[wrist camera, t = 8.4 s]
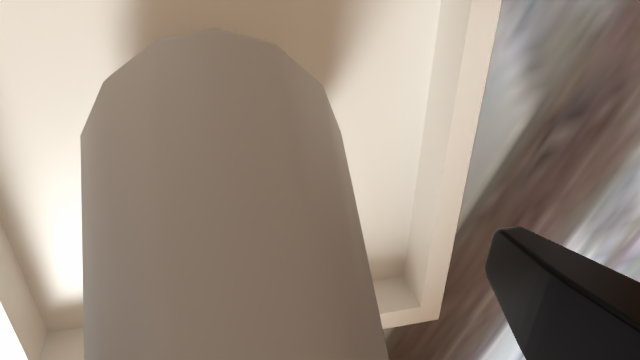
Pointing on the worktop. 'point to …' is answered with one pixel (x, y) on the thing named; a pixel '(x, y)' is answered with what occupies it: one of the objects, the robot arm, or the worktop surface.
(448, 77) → the tray
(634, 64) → the worktop surface
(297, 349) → the salt shaker
